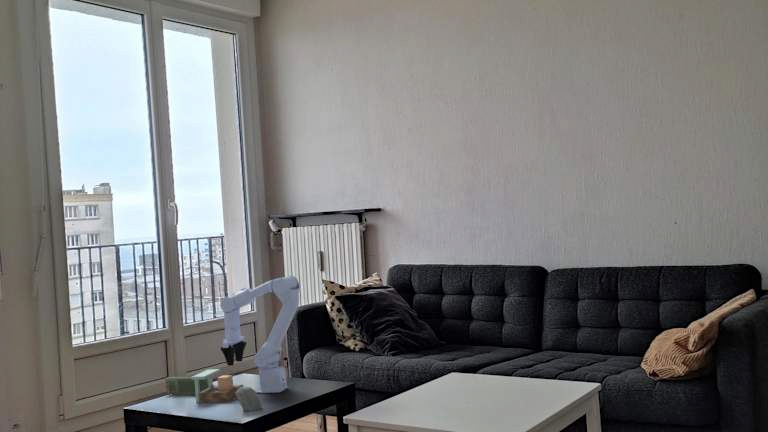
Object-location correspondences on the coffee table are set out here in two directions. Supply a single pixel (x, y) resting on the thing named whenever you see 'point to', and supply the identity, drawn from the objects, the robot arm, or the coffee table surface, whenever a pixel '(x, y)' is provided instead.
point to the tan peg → (225, 382)
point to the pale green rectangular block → (203, 375)
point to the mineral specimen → (248, 398)
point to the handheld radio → (184, 385)
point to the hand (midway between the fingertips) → (234, 363)
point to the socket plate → (218, 394)
